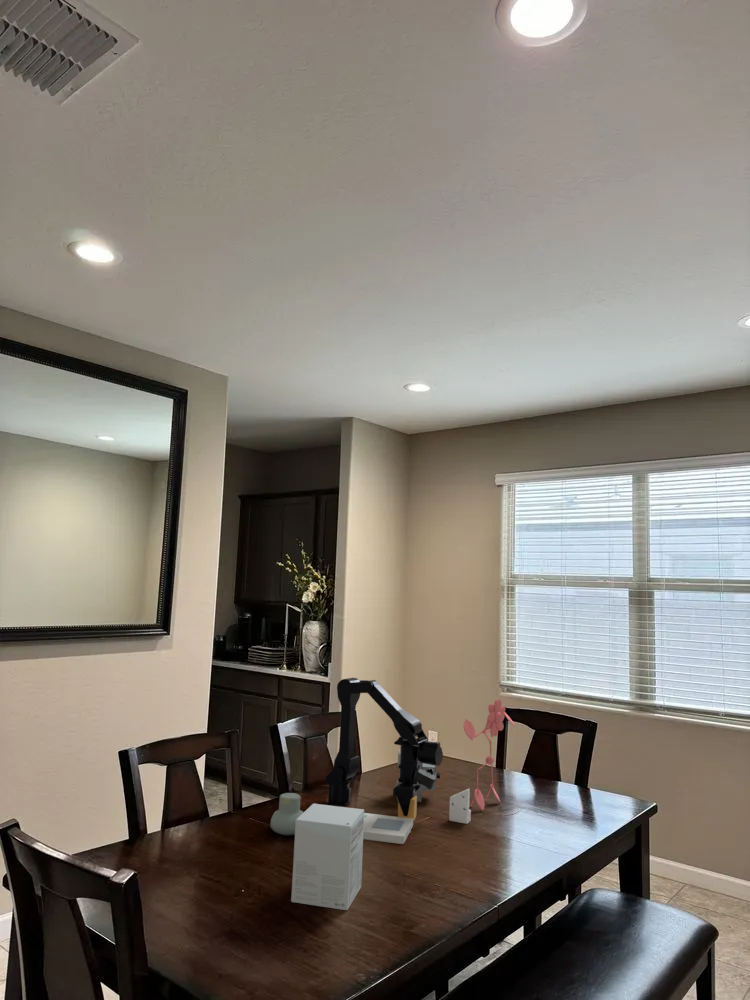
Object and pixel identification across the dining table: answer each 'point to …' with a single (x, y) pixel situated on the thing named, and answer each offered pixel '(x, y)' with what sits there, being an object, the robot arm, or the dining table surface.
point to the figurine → (494, 725)
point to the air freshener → (286, 814)
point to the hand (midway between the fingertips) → (407, 813)
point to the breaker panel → (386, 828)
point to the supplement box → (328, 856)
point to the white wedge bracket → (460, 807)
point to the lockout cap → (411, 811)
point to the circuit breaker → (422, 787)
